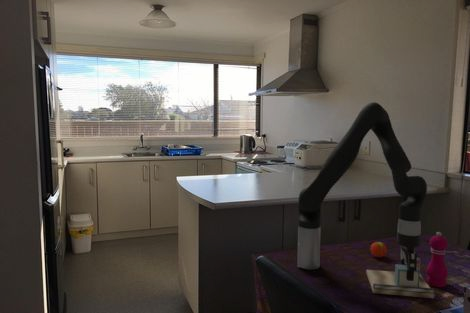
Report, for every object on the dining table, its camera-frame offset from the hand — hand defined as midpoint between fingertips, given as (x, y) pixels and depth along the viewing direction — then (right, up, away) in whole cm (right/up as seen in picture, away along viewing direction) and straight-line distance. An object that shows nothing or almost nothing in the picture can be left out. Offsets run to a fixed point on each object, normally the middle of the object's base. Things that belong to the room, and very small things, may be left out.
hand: (406, 275), depth 137 cm
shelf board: (-1, -5, +5) cm, 7 cm away
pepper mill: (+14, -5, +7) cm, 16 cm away
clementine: (+3, -3, +34) cm, 35 cm away
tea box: (0, -4, 0) cm, 4 cm away
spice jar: (+7, -3, +10) cm, 12 cm away
